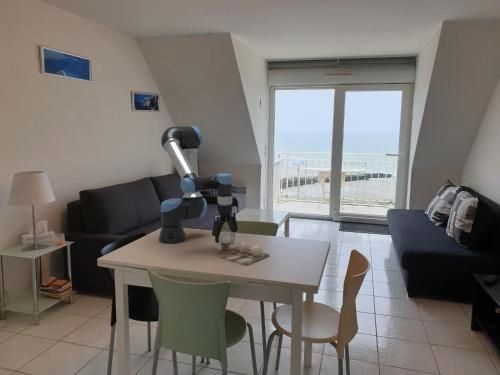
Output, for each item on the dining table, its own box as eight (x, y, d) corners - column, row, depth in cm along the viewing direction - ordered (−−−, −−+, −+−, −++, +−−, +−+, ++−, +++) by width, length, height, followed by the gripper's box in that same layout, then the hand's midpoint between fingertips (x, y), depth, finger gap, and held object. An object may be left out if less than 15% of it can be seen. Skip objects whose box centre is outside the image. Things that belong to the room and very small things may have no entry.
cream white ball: (248, 256, 197) (248, 245, 196) (255, 254, 202) (255, 242, 201) (257, 259, 194) (257, 247, 193) (265, 256, 198) (265, 244, 197)
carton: (219, 258, 196) (219, 255, 196) (242, 250, 209) (242, 247, 209) (246, 266, 185) (246, 263, 185) (269, 257, 198) (269, 254, 198)
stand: (218, 252, 207) (218, 243, 206) (225, 249, 211) (225, 241, 210) (225, 254, 203) (225, 245, 203) (232, 251, 207) (232, 243, 206)
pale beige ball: (235, 253, 203) (235, 242, 202) (243, 250, 207) (243, 239, 206) (244, 255, 199) (244, 244, 198) (251, 253, 204) (252, 241, 203)
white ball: (217, 244, 206) (216, 232, 205) (225, 241, 210) (224, 230, 209) (225, 246, 202) (225, 234, 201) (233, 243, 207) (233, 232, 206)
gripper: (214, 208, 192) (215, 252, 196) (244, 201, 209) (244, 242, 213) (203, 206, 197) (204, 249, 200) (234, 199, 214) (234, 240, 217)
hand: (225, 246), depth 206 cm, fingers open, 10 cm apart
